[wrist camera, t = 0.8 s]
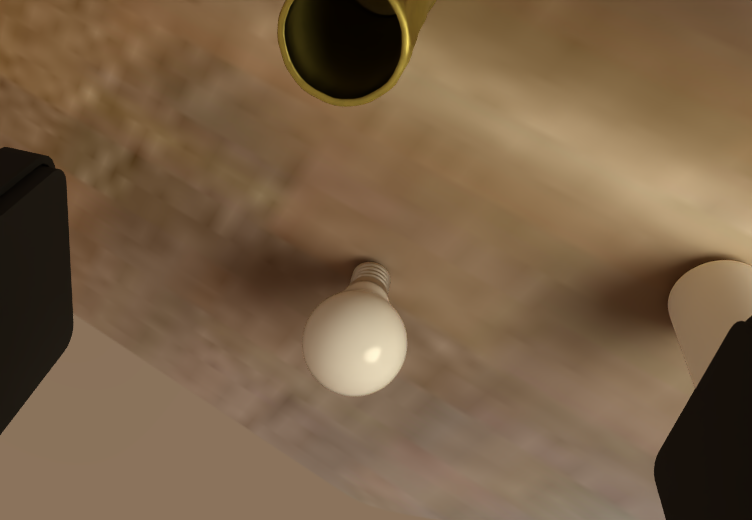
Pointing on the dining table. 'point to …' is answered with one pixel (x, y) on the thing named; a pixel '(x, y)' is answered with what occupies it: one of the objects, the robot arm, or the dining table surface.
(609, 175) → the dining table surface
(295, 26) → the vase
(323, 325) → the lightbulb
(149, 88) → the dining table surface
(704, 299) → the beverage can
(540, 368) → the dining table surface
